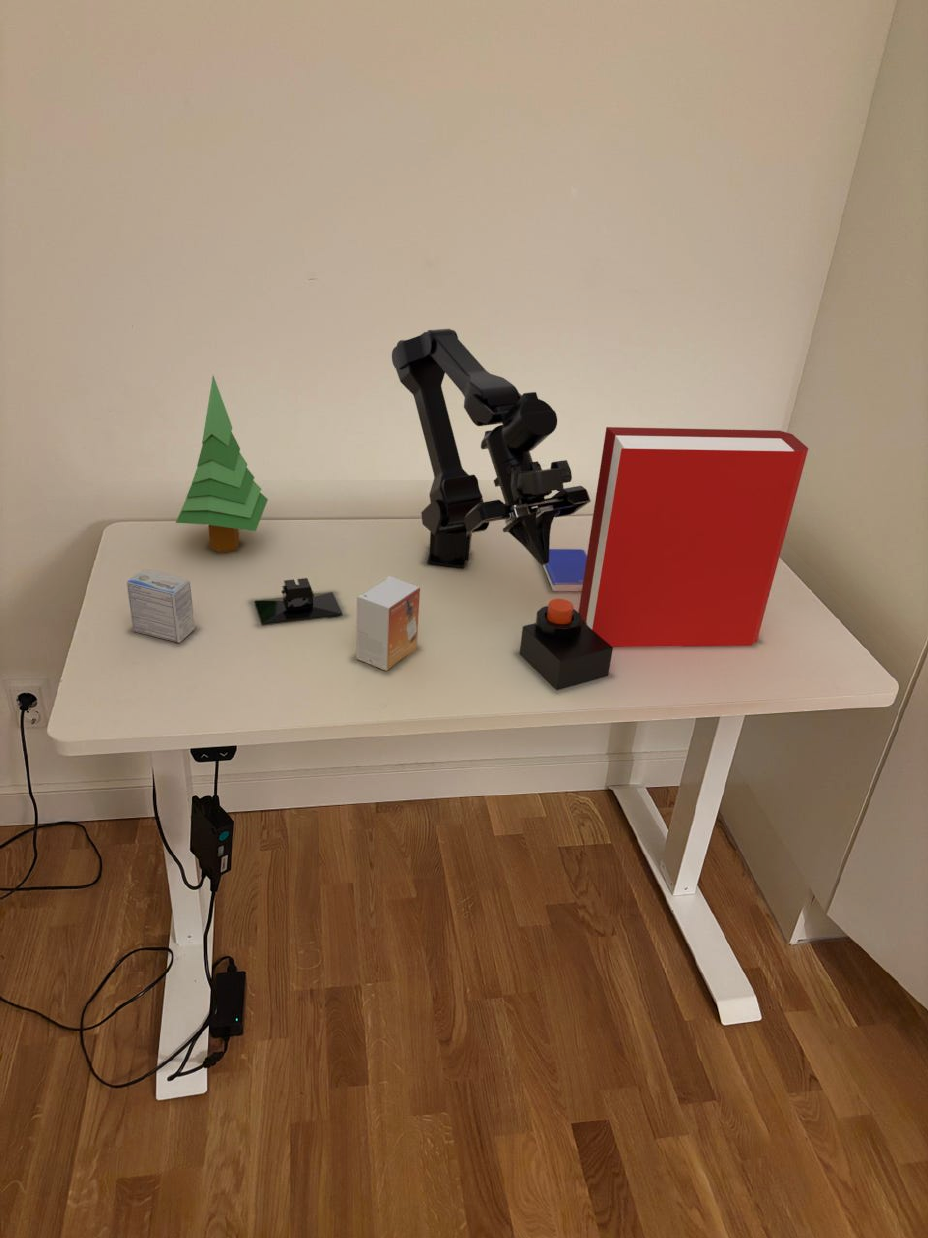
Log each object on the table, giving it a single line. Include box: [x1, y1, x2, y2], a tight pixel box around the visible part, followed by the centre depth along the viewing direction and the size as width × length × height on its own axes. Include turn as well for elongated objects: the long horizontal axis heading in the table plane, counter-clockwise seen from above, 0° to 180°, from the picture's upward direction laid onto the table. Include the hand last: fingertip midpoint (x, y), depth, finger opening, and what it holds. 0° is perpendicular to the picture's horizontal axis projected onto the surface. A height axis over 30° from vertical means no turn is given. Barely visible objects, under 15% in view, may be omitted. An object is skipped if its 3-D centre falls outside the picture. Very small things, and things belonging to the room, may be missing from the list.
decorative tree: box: [175, 375, 269, 554], centre depth 158 cm, size 14×16×30 cm
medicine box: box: [126, 568, 196, 644], centre depth 140 cm, size 8×4×9 cm, turn 71°
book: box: [577, 426, 809, 648], centre depth 143 cm, size 27×8×32 cm, turn 97°
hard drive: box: [542, 548, 587, 592], centre depth 166 cm, size 2×8×12 cm
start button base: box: [519, 605, 614, 691], centre depth 140 cm, size 11×9×7 cm
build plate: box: [253, 577, 343, 626], centre depth 149 cm, size 12×7×5 cm, turn 109°
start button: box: [547, 598, 575, 624], centre depth 139 cm, size 4×4×2 cm
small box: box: [355, 575, 421, 672], centre depth 138 cm, size 8×6×10 cm
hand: (545, 563), depth 140 cm, fingers closed
